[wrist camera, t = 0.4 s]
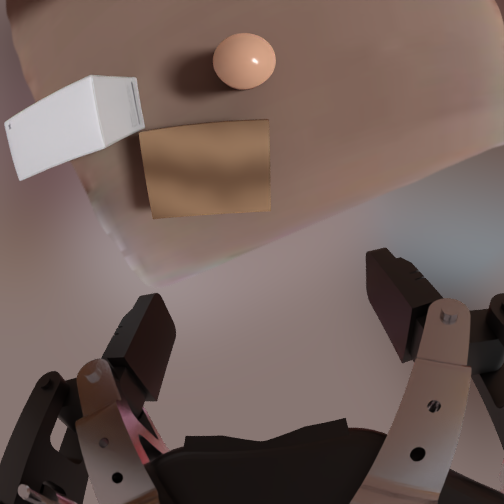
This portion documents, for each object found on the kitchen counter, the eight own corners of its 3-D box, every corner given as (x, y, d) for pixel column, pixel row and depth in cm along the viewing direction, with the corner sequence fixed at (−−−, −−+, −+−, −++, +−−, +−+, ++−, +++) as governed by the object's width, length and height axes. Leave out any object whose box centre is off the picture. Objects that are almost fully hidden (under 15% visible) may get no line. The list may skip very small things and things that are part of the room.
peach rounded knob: (217, 47, 22) (211, 35, 17) (267, 45, 22) (274, 32, 17) (219, 91, 25) (214, 90, 19) (269, 89, 25) (276, 87, 20)
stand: (151, 127, 26) (138, 132, 23) (265, 117, 26) (269, 120, 23) (162, 204, 31) (152, 218, 27) (266, 196, 31) (270, 211, 28)
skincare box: (71, 154, 26) (17, 184, 17) (60, 105, 23) (2, 120, 14) (147, 130, 26) (105, 150, 17) (137, 76, 23) (90, 71, 14)
